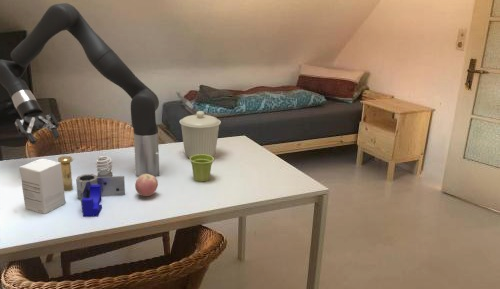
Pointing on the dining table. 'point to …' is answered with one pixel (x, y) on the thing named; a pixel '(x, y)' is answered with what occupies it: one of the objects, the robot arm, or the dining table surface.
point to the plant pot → (201, 166)
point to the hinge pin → (66, 172)
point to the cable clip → (92, 202)
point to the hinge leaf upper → (103, 184)
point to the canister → (200, 134)
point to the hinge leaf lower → (83, 193)
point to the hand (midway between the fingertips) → (46, 140)
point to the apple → (146, 184)
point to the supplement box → (42, 185)
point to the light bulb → (104, 166)
